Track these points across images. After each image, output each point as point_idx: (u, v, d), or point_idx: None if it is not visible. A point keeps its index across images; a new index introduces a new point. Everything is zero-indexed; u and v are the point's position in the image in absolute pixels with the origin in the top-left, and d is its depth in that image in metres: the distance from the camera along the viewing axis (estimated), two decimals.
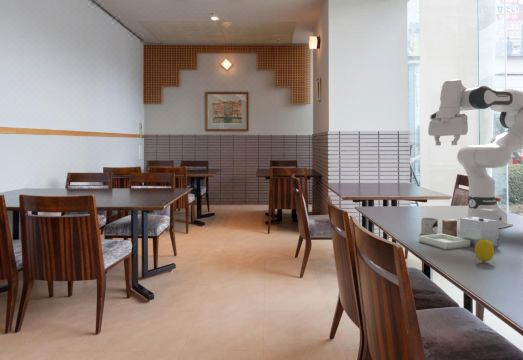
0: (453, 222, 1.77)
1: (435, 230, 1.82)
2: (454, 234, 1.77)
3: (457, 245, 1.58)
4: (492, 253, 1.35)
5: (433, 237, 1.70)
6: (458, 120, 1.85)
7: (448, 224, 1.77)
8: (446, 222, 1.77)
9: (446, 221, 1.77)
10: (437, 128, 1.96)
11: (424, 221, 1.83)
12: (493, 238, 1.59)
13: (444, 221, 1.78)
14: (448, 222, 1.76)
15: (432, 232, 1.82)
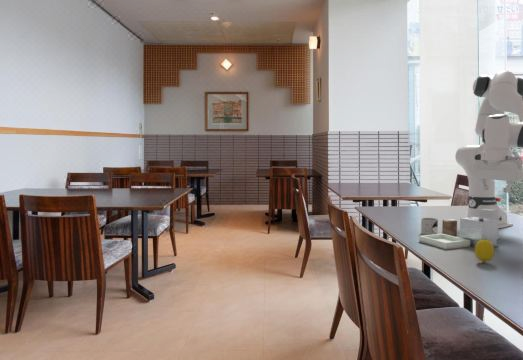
0: (453, 222, 1.77)
1: (435, 230, 1.82)
2: (454, 234, 1.77)
3: (457, 245, 1.58)
4: (492, 253, 1.35)
5: (433, 237, 1.70)
6: (511, 164, 1.57)
7: (448, 224, 1.77)
8: (446, 222, 1.77)
9: (446, 221, 1.77)
10: (483, 171, 1.68)
11: (424, 221, 1.83)
12: (493, 238, 1.59)
13: (444, 221, 1.78)
14: (448, 222, 1.76)
15: (432, 232, 1.82)
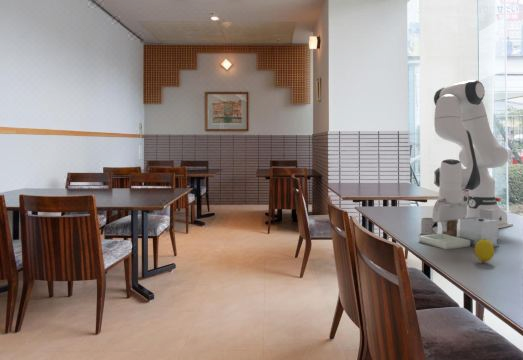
0: (453, 222, 1.77)
1: (435, 230, 1.82)
2: (454, 234, 1.77)
3: (457, 245, 1.58)
4: (492, 253, 1.35)
5: (433, 237, 1.70)
6: None
7: (448, 224, 1.77)
8: None
9: None
10: None
11: (424, 221, 1.83)
12: (493, 238, 1.59)
13: None
14: (448, 222, 1.76)
15: (432, 232, 1.82)
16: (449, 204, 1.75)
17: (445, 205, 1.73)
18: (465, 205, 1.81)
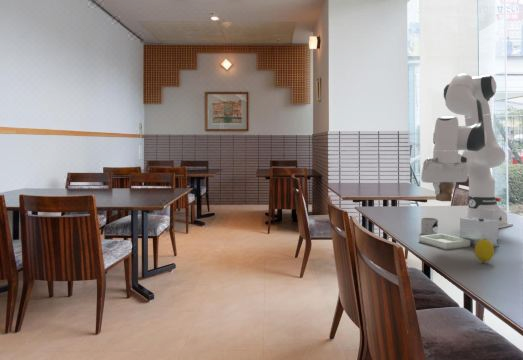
0: (447, 184, 1.62)
1: (435, 230, 1.82)
2: (448, 198, 1.62)
3: (457, 245, 1.58)
4: (492, 253, 1.35)
5: (433, 237, 1.70)
6: None
7: (441, 187, 1.62)
8: (440, 184, 1.63)
9: None
10: None
11: (424, 221, 1.83)
12: (493, 238, 1.59)
13: None
14: (441, 184, 1.62)
15: (432, 232, 1.82)
16: (441, 164, 1.60)
17: (435, 164, 1.59)
18: (465, 167, 1.64)
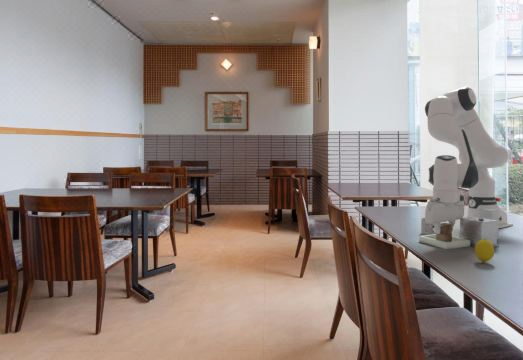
0: (448, 226, 1.63)
1: None
2: (449, 239, 1.63)
3: (457, 245, 1.58)
4: (492, 253, 1.35)
5: (433, 237, 1.70)
6: None
7: (442, 229, 1.62)
8: (440, 226, 1.63)
9: (440, 225, 1.63)
10: None
11: (424, 221, 1.83)
12: (493, 238, 1.59)
13: None
14: (443, 226, 1.62)
15: (432, 232, 1.82)
16: (443, 204, 1.60)
17: (439, 205, 1.59)
18: (462, 205, 1.66)
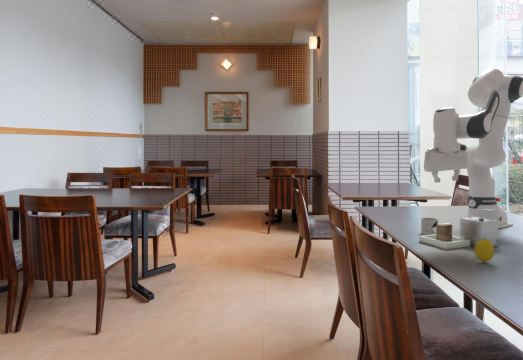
0: (448, 226, 1.63)
1: (435, 230, 1.82)
2: (449, 239, 1.63)
3: (457, 245, 1.58)
4: (492, 253, 1.35)
5: (433, 237, 1.70)
6: None
7: (443, 229, 1.63)
8: (441, 226, 1.63)
9: (441, 225, 1.63)
10: None
11: (424, 221, 1.83)
12: (493, 238, 1.59)
13: (438, 225, 1.64)
14: (443, 226, 1.62)
15: (432, 232, 1.82)
16: (442, 153, 1.68)
17: (437, 154, 1.67)
18: (464, 155, 1.72)
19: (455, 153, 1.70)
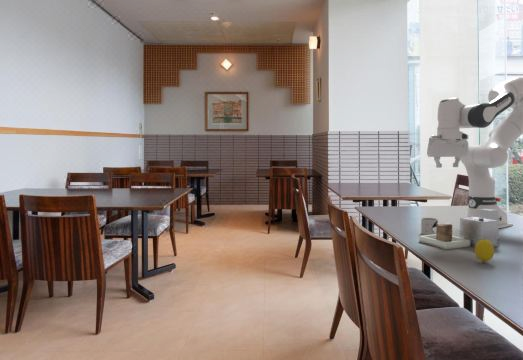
0: (448, 226, 1.63)
1: (435, 230, 1.82)
2: (449, 239, 1.63)
3: (457, 245, 1.58)
4: (492, 253, 1.35)
5: (433, 237, 1.70)
6: None
7: (443, 229, 1.63)
8: (441, 226, 1.63)
9: (441, 225, 1.63)
10: None
11: (424, 221, 1.83)
12: (493, 238, 1.59)
13: (438, 225, 1.64)
14: (443, 226, 1.62)
15: (432, 232, 1.82)
16: (445, 140, 1.80)
17: (439, 141, 1.79)
18: (465, 143, 1.84)
19: (457, 141, 1.82)
